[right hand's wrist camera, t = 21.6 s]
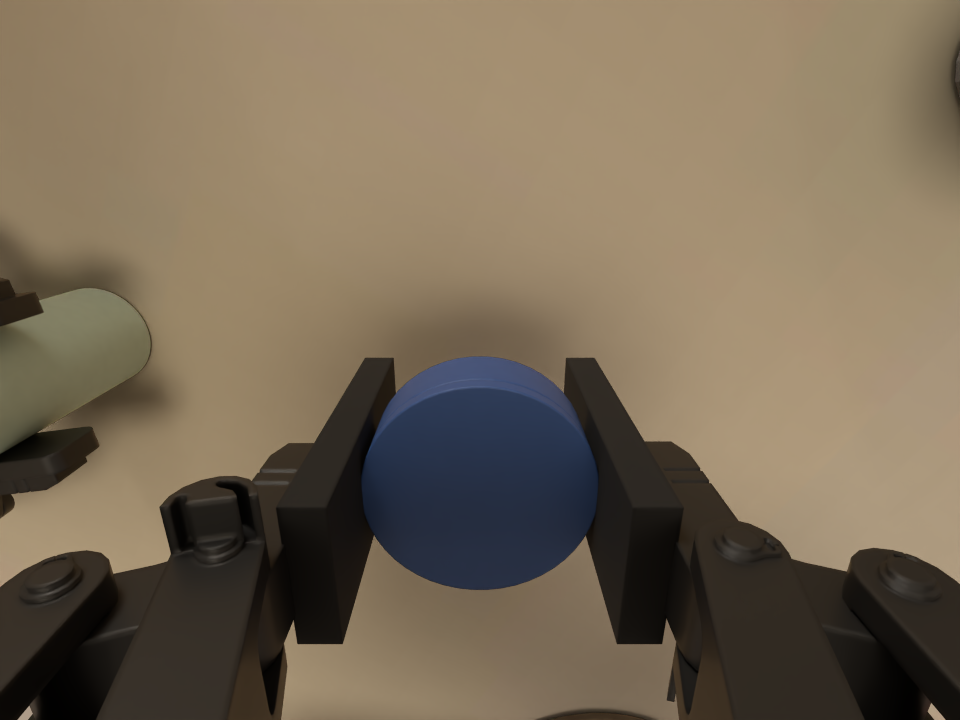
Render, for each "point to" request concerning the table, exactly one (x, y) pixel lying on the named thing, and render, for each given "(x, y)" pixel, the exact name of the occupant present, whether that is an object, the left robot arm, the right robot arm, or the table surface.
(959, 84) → the beverage cup
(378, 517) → the lid
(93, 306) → the bottle
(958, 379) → the table surface
